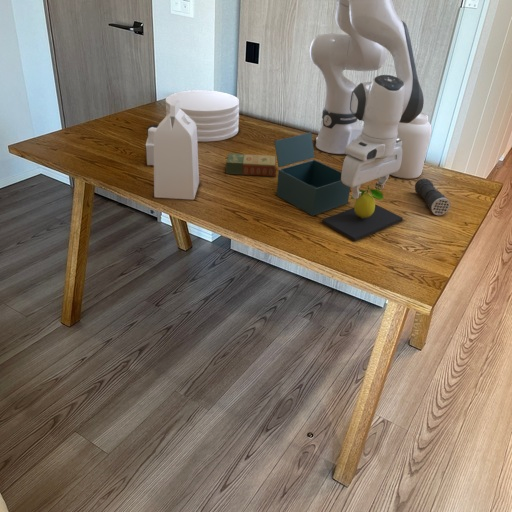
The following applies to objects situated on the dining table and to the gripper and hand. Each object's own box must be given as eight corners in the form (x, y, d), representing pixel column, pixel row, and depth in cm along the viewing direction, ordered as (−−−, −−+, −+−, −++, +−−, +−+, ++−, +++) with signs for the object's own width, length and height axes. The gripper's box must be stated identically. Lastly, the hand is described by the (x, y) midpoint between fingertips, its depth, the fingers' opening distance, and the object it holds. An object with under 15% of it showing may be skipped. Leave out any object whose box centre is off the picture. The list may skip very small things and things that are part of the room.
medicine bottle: (148, 157, 169) (146, 122, 163) (170, 157, 170) (168, 123, 163) (146, 165, 163) (144, 129, 157) (168, 165, 164) (167, 130, 157)
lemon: (379, 220, 137) (386, 187, 131) (363, 226, 134) (370, 192, 128) (362, 211, 141) (368, 178, 136) (346, 215, 138) (352, 182, 133)
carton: (274, 177, 161) (275, 164, 158) (225, 173, 161) (225, 161, 159) (275, 167, 168) (276, 155, 165) (227, 163, 168) (228, 151, 166)
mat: (369, 204, 147) (369, 201, 147) (402, 220, 140) (402, 217, 139) (321, 222, 136) (321, 219, 136) (354, 241, 129) (354, 238, 128)
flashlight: (411, 192, 156) (415, 176, 153) (428, 192, 157) (432, 176, 154) (429, 215, 143) (434, 198, 140) (447, 215, 144) (452, 198, 141)
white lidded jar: (376, 171, 169) (388, 112, 158) (395, 162, 177) (407, 105, 166) (409, 182, 162) (424, 122, 151) (427, 172, 170) (442, 114, 159)
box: (276, 195, 149) (278, 169, 145) (311, 184, 157) (314, 159, 153) (312, 215, 139) (316, 188, 135) (347, 203, 147) (352, 177, 143)
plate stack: (236, 143, 185) (237, 112, 179) (161, 139, 184) (159, 108, 178) (239, 120, 208) (240, 92, 202) (172, 116, 208) (171, 88, 202)
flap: (279, 167, 144) (278, 167, 145) (314, 157, 152) (314, 157, 153) (274, 140, 142) (274, 140, 143) (311, 132, 150) (310, 132, 150)
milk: (162, 180, 154) (157, 95, 140) (199, 182, 154) (198, 97, 140) (154, 197, 144) (148, 107, 130) (193, 199, 144) (192, 110, 130)
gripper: (393, 132, 134) (383, 180, 141) (340, 147, 123) (333, 198, 130) (412, 140, 130) (401, 188, 137) (360, 156, 119) (351, 207, 126)
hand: (367, 193), depth 134 cm, fingers open, 8 cm apart
